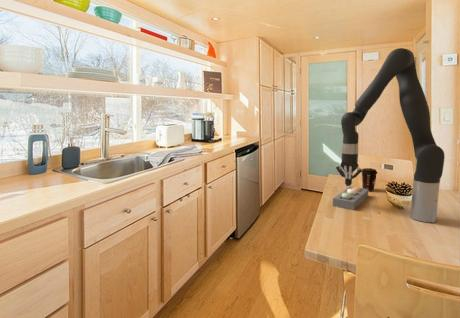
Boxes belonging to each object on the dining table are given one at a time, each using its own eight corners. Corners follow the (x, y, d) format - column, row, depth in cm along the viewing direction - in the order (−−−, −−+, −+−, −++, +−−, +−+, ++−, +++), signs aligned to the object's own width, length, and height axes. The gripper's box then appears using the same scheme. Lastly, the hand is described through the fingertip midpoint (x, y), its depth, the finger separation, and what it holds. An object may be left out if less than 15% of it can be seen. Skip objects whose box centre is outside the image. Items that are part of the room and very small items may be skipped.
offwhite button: (357, 194, 144) (357, 189, 143) (354, 196, 140) (355, 191, 140) (348, 193, 146) (348, 188, 146) (346, 194, 143) (346, 190, 143)
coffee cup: (372, 188, 166) (374, 167, 164) (378, 192, 158) (380, 170, 156) (358, 188, 167) (359, 167, 165) (363, 191, 159) (364, 170, 157)
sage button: (352, 198, 137) (352, 193, 136) (349, 200, 133) (349, 195, 133) (343, 197, 140) (343, 192, 139) (340, 199, 136) (340, 194, 136)
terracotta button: (361, 192, 150) (361, 188, 150) (359, 194, 147) (359, 190, 147) (353, 191, 153) (353, 186, 153) (351, 193, 150) (351, 188, 150)
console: (368, 196, 151) (368, 189, 150) (353, 210, 130) (353, 202, 129) (349, 193, 158) (349, 186, 157) (332, 205, 137) (333, 198, 136)
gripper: (366, 152, 133) (364, 186, 135) (339, 150, 141) (337, 182, 144) (361, 154, 127) (359, 189, 130) (334, 152, 136) (332, 185, 139)
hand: (348, 185), depth 137 cm, fingers closed
